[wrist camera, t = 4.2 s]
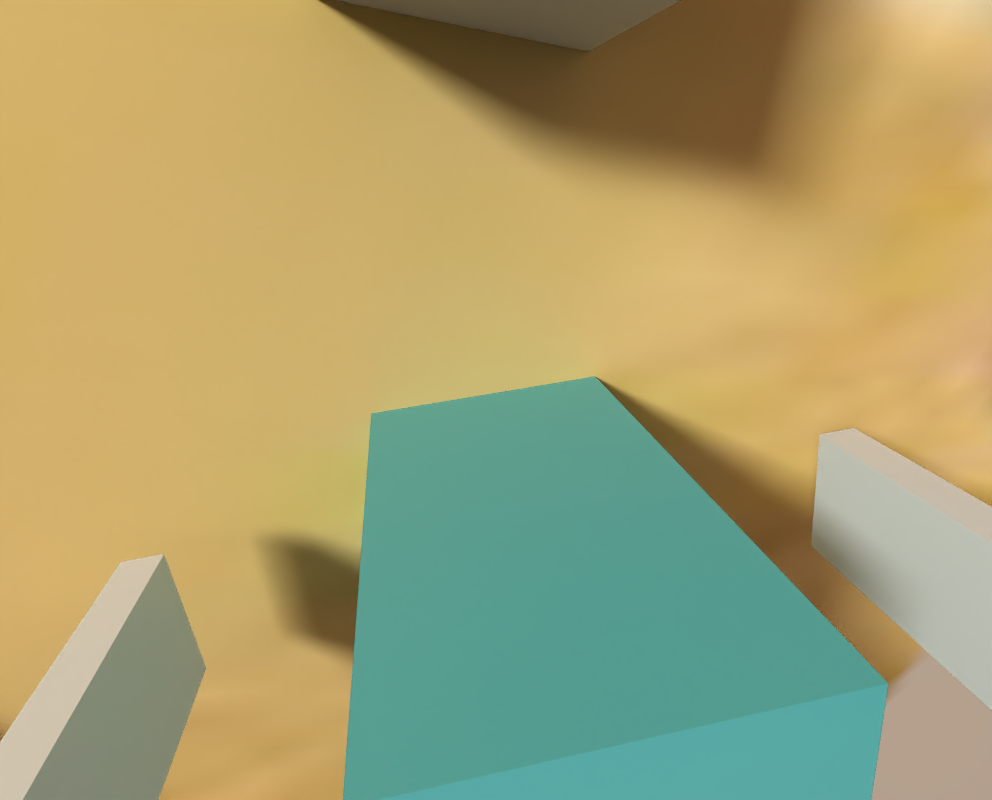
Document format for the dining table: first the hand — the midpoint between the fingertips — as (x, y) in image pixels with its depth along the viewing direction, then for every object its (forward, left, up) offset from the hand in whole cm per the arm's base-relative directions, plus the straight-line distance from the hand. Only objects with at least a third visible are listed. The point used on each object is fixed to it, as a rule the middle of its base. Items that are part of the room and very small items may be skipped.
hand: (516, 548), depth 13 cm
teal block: (0, 0, -2) cm, 2 cm away
